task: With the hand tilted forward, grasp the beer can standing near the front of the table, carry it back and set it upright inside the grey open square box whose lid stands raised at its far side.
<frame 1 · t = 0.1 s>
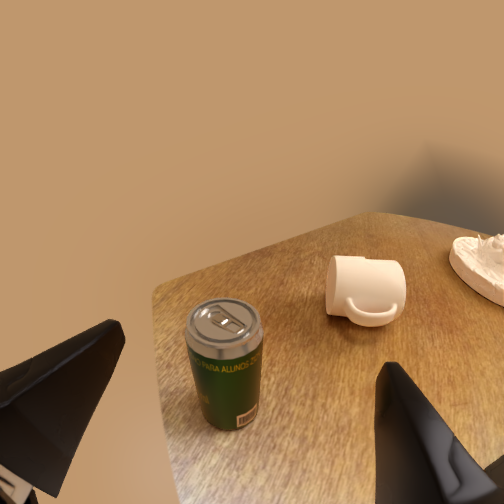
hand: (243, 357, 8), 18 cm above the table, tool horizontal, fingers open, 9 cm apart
cake: (495, 277, 44), on the table
mug: (357, 316, 36), on the table
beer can: (230, 410, 23), on the table
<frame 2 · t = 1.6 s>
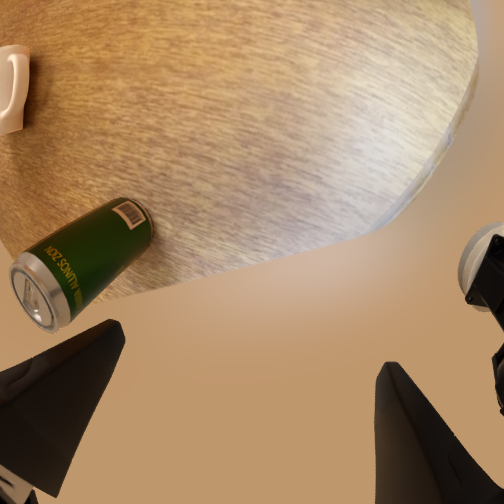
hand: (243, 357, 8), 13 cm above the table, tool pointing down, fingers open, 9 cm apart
mug: (25, 90, 18), on the table
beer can: (131, 223, 23), on the table
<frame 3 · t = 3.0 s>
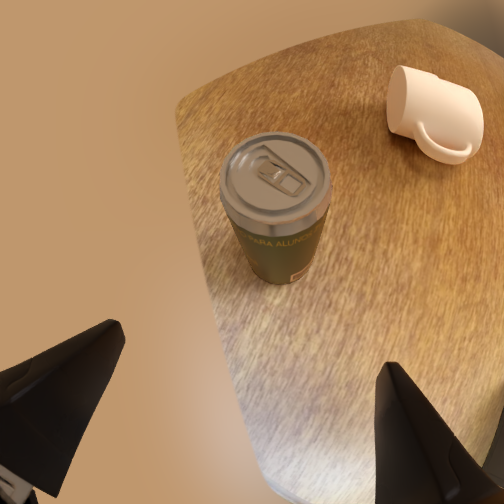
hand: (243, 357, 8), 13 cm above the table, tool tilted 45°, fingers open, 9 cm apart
mug: (423, 140, 25), on the table
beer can: (280, 255, 23), on the table
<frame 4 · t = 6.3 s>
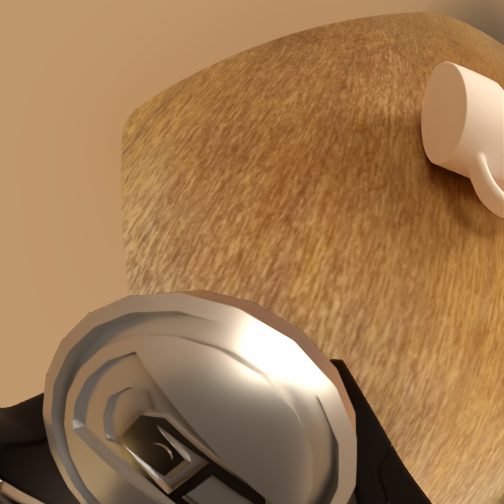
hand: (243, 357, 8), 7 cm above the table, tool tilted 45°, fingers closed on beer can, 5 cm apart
mug: (469, 172, 16), on the table
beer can: (256, 374, 14), on the table, touching gripper
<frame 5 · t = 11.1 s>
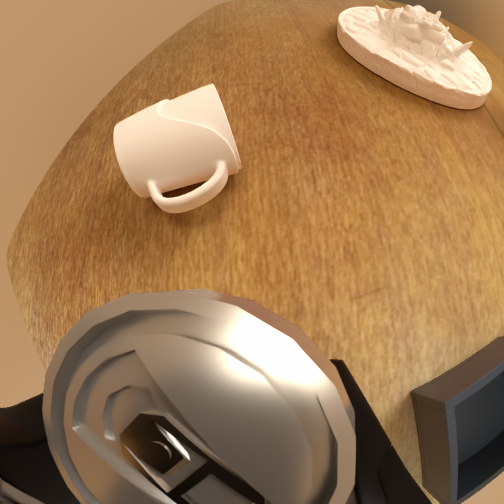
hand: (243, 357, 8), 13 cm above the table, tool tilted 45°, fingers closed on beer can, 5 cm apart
grey open square box: (467, 414, 16), on the table
cake: (415, 55, 31), on the table
mug: (193, 175, 27), on the table
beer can: (256, 374, 14), point 7 cm above the table, touching gripper
when the fingers open (7 cm above the table, at t = 16.5 s): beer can stays where it is, resting on grey open square box.
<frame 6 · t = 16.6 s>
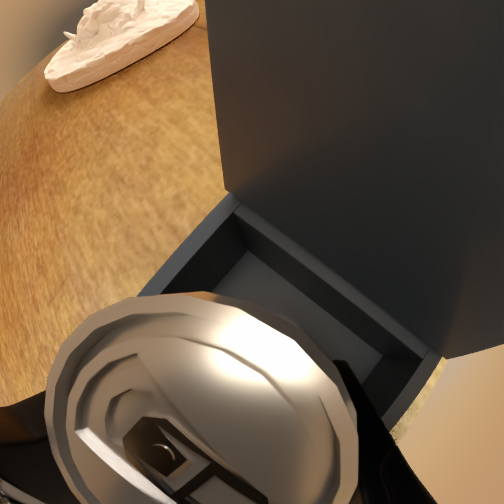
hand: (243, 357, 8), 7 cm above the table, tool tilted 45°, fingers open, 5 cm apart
grey open square box: (258, 371, 15), on the table
cake: (121, 40, 32), on the table
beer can: (257, 375, 14), point 1 cm above the table, touching grey open square box
chest lid: (424, 146, 4), point 12 cm above the table, hinge at 100.0°
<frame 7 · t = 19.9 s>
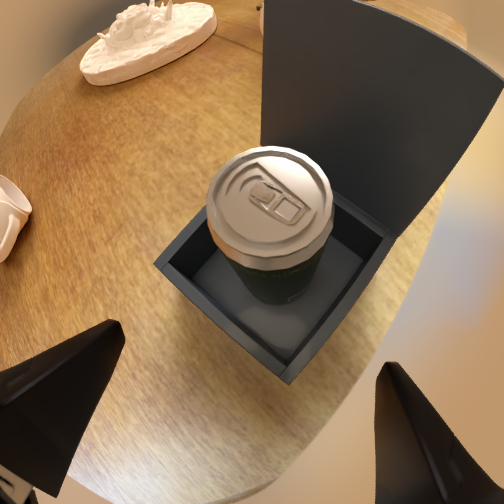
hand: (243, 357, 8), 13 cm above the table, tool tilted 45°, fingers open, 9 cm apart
grey open square box: (278, 272, 23), on the table
cake: (148, 43, 39), on the table
mug: (17, 234, 28), on the table
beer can: (277, 272, 22), point 1 cm above the table, touching grey open square box
chest lid: (352, 111, 12), point 12 cm above the table, hinge at 100.0°
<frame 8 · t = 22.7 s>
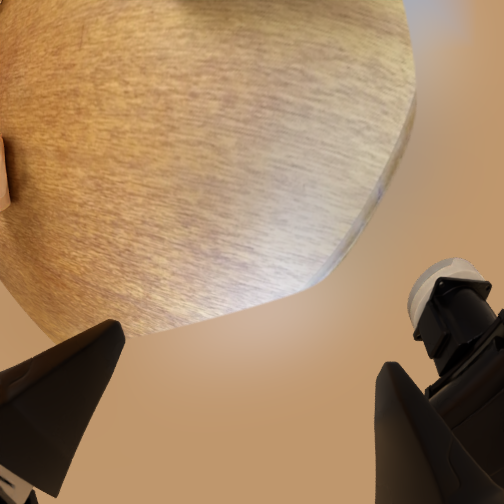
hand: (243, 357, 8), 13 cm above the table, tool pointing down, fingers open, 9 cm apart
mug: (6, 168, 23), on the table
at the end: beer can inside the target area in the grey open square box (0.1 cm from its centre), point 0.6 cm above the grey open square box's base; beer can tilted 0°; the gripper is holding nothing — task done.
